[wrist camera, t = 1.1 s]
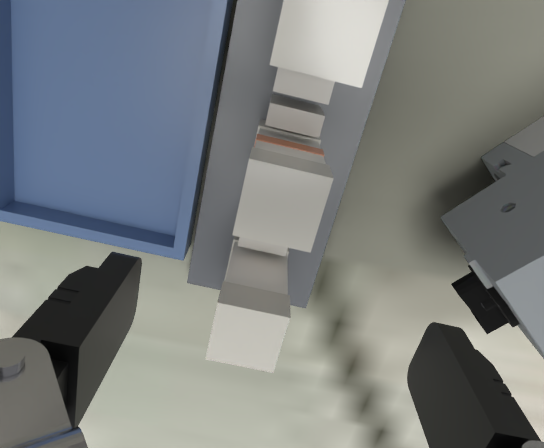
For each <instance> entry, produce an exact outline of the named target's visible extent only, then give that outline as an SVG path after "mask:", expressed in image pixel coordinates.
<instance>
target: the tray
mask: <svg viewBox="0 0 544 448" xmlns="http://www.w3.org/2000/svg"><path fill="white" fill-rule="evenodd" d="M232 5H233V0H0V221H3V222H8V223H12V224H17V225H22V226H26V227H31V228H35V229H40V230H45V231H49V232H54V233H58V234H63V235H68V236H72V237H77V238H81V239H86V240H91V241H95V242H100V243H104V244H109V245H114V246H118V247H123V248H128V249H132V250H137V251H141V252H146V253H151V254H155V255H160V256H164V257H169V258H174V259H178V260H184V258H185V256H186V254H187V251H188V249H189V247H190V245H191V240H192V234H193V228H194V223H195V217H196V211H197V205H198V200H199V194H200V188H201V183H202V177H203V171H204V165H205V160H206V154H207V148H208V142H209V137H210V131H211V125H212V120H213V114H214V108H215V102H216V97H217V91H218V85H219V79H220V74H221V68H222V62H223V57H224V51H225V45H226V39H227V34H228V28H229V22H230V16H231V11H232Z"/></svg>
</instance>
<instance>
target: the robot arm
mask: <svg viewBox="0 0 544 448" xmlns="http://www.w3.org/2000/svg"><path fill="white" fill-rule="evenodd" d="M141 266H142V260H141V258H139V257H134V256H129V255H125V254H120V253H116V252H112V253H110V255H109V256H108V257H107V258H106V259H105V261H104V262H103V263H102V264H101V266H100V267H99V268H94V267H90V266H85V267H83V268H81V269H79V270H77V271H75V272H73V273H71V274H69V275H68V276H67V277H66V278H65V279H64V281H63V282H62V283H61V284H60V285H59V286H58V288H57V289H55V290H54V292H53V293H52V294H51V295H50V296H49V297H48V300H45V301H44V303H43V304H42V305H41V306H40V307H39V308H38V309H37V310H36V311H35V312H34V314H33V315H32V316H31V317H30V318H29V319H28V320H27V321H26V322H25V323H24V325H23V326H22V327H21V328H20V329H19V330H18V331H17V332H16V333H15V334H14V335H13V337H12V338H5V339H0V448H88V447H87V444H86V441H85V438H84V435H83V433H82V431H81V429H80V428H79V427H78V425H79V423H80V421H81V419H82V418H83V416H84V414H85V412H86V410H87V408H88V406H89V404H90V403H91V401H92V399H93V397H94V395H95V393H96V391H97V389H98V388H99V386H100V384H101V382H102V380H103V378H104V376H105V374H106V373H107V371H108V369H109V367H110V365H111V363H112V361H113V359H114V358H115V356H116V354H117V352H118V350H119V348H120V346H121V344H122V343H123V341H124V339H125V337H126V335H127V333H128V331H129V329H130V327H131V325H132V322H133V319H134V316H135V312H136V306H137V299H138V291H139V283H140V274H141ZM407 381H408V387H409V390H410V393H411V396H412V399H413V402H414V405H415V408H416V411H417V413H418V416H419V419H420V422H421V425H422V428H423V431H424V434H425V436H426V439H427V442H428V445H429V448H544V442H541V440H540V439H539V437H538V435H537V434H536V432H535V431H534V429H533V427H532V426H531V424H530V423H529V421H528V419H527V418H526V416H525V415H524V413H523V412H522V410H521V408H520V407H519V405H518V404H517V402H516V400H515V399H514V397H511V393H510V391H509V389H508V388H507V386H506V385H505V384H503V380H502V378H501V377H500V375H499V373H498V372H497V370H496V369H495V367H494V366H493V364H492V363H490V362H489V361H488V360H487V359H486V358H485V357H484V356H483V355H482V354H481V353H480V352H479V351H478V350H475V349H474V347H473V345H472V344H471V342H470V340H469V339H468V337H467V335H466V334H465V332H464V331H463V330H462V329H461V328H459V327H454V326H449V325H445V324H440V323H435V322H433V323H431V324H430V325H429V326H428V327H427V329H426V331H425V333H424V335H423V337H422V340H421V342H420V344H419V346H418V348H417V350H416V352H415V354H414V356H413V359H412V361H411V363H410V365H409V369H408V376H407Z"/></svg>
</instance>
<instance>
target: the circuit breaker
mask: <svg viewBox="0 0 544 448" xmlns="http://www.w3.org/2000/svg"><path fill="white" fill-rule="evenodd" d="M481 159H482V160H483V162H484V163H485V165H486V167H487V168H488V170H489V172H490V173H491V175H492V176H493V178H494V180H495V181H496V182H495V183H493V184H491V185H490V186H488V187H487V188H485V189H483V190H482V191H480V192H479V193H477V194H476V195H474V196H472V197H471V198H469V199H468V200H466V201H465V202H463V203H461V204H460V205H458V206H457V207H455V208H454V209H452V210H450V211H449V212H447V213H446V214H444V215H443V216H441V219H442V221H443V222H444V224H445V225H446V227H447V228H448V229H449V231H450V232H451V234H452V235H453V237H454V238H455V239H456V241H457V242H458V244H459V245H460V247H461V248H462V250H463V251H464V252H465V254H466V255H464V257H465V259H466V260H467V262H468V263H469V265H468V267H469V268H470V270H471V271H472V272H471V273H469V274H467V275H466V276H464V277H462V278H460V279H459V280H457V281H455V282H454V283H452V284H451V285H452V286H453V288H454V289H455V290H456V292H457V293H458V295H459V296H460V297H461V299H462V300H463V301H464V302H465V303H466V304H467V306H468V307H469V308H470V310H471V312H472V313H473V315H474V316H475V318H476V319H477V321H478V322H479V324H480V325H481V326H482V328H483V329H484V330H485V332H486V333H487V334H488V333H490V332H492V331H494V330H496V329H498V328H499V327H501V326H503V325H505V324H507V323H509V324H510V325H511V326H512V327H515V326H517V325H518V327H519V328H520V329H521V331H522V332H523V333H524V334H525V336H526V337H527V338H528V339H529V341H530V342H531V343H532V344H533V346H534V347H535V348H536V349H537V351H538V352H539V353H540V355H541V356H542V357H543V358H544V116H543V117H541V118H540V119H538V120H537V121H535V122H534V123H532V124H530V125H529V126H527V127H526V128H524V129H523V130H521V131H520V132H518V133H517V134H515V135H514V136H512V137H511V138H509V139H508V140H506V141H505V142H503V143H502V144H500V145H498V146H497V147H495V148H494V149H492V150H491V151H489V152H488V153H486V154H485V155H483V156H482V157H481Z"/></svg>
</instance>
